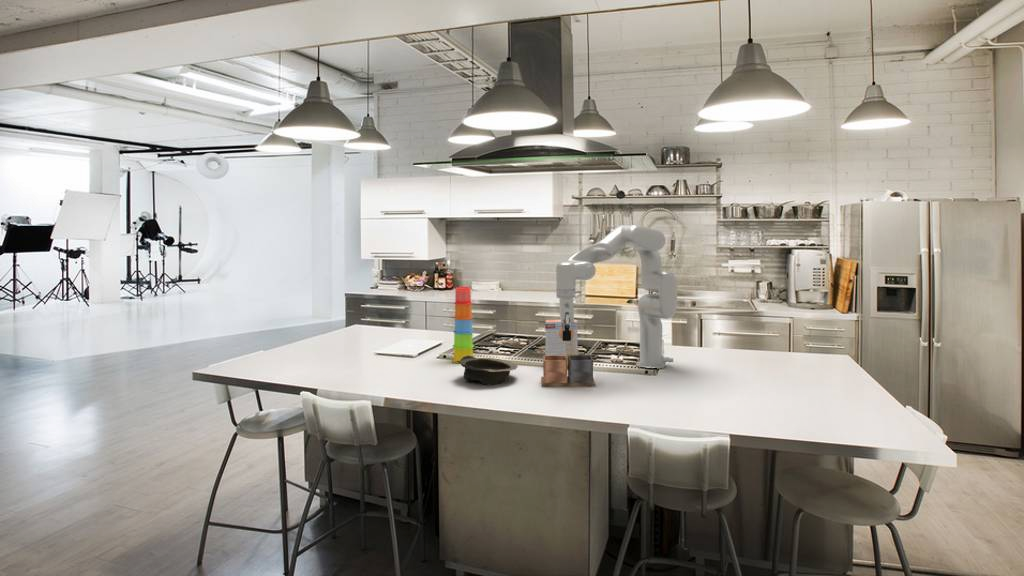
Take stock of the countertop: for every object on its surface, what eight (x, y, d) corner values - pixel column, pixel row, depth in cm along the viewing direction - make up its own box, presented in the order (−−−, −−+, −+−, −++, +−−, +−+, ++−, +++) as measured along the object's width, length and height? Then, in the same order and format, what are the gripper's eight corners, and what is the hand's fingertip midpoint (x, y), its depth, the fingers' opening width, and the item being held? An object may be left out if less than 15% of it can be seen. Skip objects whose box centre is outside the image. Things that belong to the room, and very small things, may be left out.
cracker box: (577, 365, 271) (577, 319, 268) (577, 368, 265) (577, 321, 262) (546, 365, 272) (545, 319, 270) (545, 368, 266) (545, 321, 264)
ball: (573, 339, 243) (573, 324, 242) (574, 342, 237) (574, 326, 236) (558, 339, 243) (558, 324, 242) (559, 342, 237) (559, 327, 236)
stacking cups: (476, 358, 287) (474, 285, 283) (472, 363, 277) (470, 288, 273) (454, 358, 288) (452, 286, 284) (450, 363, 278) (448, 288, 274)
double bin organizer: (592, 378, 248) (592, 354, 246) (595, 386, 237) (595, 360, 236) (541, 379, 248) (540, 354, 247) (541, 386, 237) (541, 361, 236)
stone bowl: (444, 381, 247) (445, 359, 246) (484, 373, 266) (485, 352, 266) (491, 390, 232) (492, 366, 231) (530, 381, 251) (530, 358, 251)
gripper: (577, 296, 229) (577, 343, 231) (573, 291, 246) (573, 335, 248) (557, 296, 229) (557, 343, 231) (555, 291, 246) (555, 335, 248)
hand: (566, 338), depth 240 cm, fingers closed on ball, 5 cm apart
